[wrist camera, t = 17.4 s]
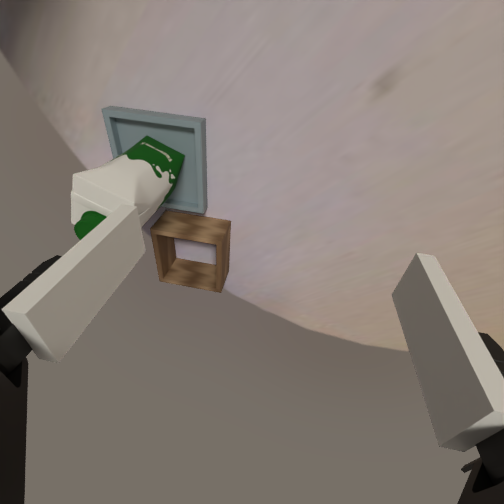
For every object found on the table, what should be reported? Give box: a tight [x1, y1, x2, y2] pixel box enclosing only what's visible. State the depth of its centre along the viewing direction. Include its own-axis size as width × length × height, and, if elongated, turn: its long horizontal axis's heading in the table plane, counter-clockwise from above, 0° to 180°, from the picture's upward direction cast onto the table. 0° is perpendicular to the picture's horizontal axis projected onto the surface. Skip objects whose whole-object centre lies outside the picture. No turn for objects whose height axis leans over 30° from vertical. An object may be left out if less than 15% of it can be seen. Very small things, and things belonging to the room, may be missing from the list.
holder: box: [150, 210, 231, 293], centre depth 56 cm, size 14×14×7 cm
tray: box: [102, 106, 207, 214], centre depth 48 cm, size 16×16×2 cm
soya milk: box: [71, 136, 185, 240], centre depth 40 cm, size 9×9×20 cm
